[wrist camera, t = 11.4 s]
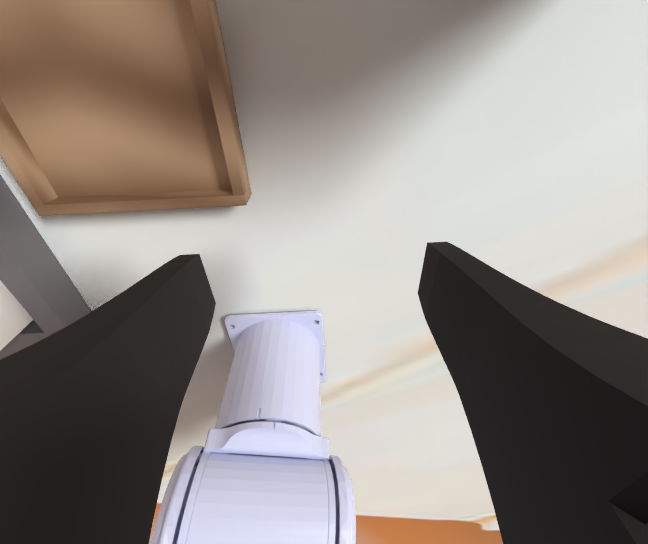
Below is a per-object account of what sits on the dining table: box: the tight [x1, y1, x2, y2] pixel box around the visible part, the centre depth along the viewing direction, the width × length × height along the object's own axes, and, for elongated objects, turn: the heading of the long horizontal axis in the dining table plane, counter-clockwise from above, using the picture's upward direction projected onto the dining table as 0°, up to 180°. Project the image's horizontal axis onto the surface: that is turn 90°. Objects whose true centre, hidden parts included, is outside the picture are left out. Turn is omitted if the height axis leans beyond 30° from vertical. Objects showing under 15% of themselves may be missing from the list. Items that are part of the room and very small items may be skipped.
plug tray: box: [0, 0, 251, 215], centre depth 15 cm, size 12×12×2 cm
